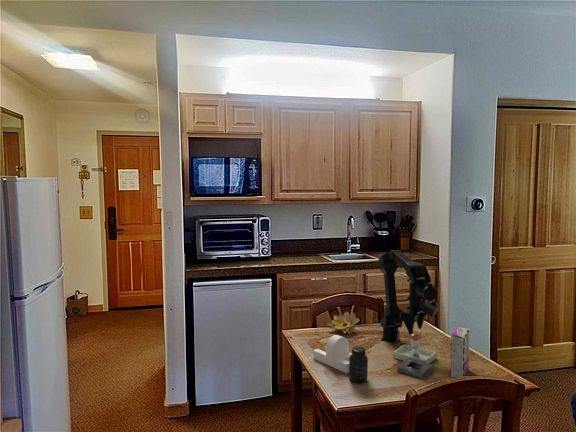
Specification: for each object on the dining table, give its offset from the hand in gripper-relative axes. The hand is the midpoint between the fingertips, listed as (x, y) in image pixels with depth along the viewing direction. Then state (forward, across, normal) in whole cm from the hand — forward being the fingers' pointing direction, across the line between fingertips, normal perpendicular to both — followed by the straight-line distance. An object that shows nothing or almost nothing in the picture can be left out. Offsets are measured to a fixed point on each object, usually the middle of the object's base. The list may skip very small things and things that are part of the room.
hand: (415, 331), depth 174 cm
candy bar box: (+12, -2, -19) cm, 22 cm away
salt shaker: (+11, 0, 0) cm, 11 cm away
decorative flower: (+12, +8, +41) cm, 43 cm away
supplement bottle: (+12, -32, +8) cm, 35 cm away
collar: (+11, -11, -5) cm, 17 cm away
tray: (+11, 0, 0) cm, 11 cm away
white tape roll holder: (+12, -24, +23) cm, 35 cm away
